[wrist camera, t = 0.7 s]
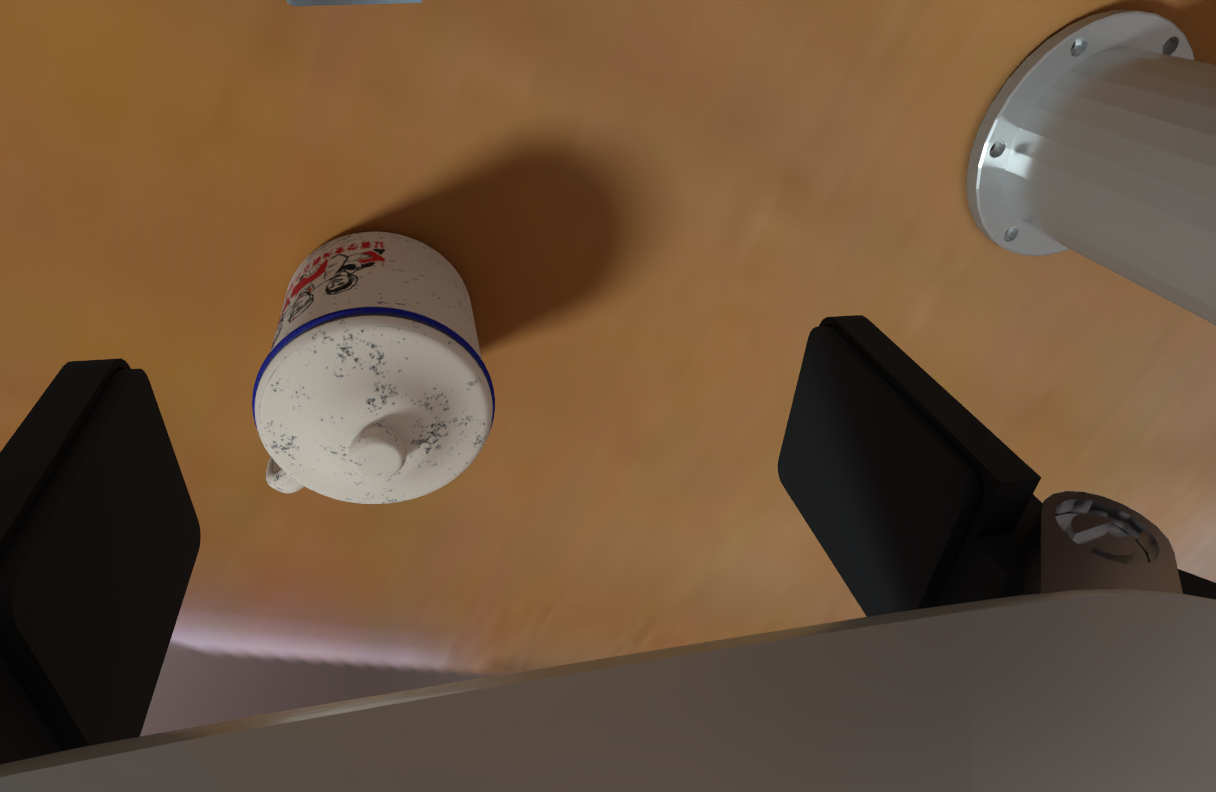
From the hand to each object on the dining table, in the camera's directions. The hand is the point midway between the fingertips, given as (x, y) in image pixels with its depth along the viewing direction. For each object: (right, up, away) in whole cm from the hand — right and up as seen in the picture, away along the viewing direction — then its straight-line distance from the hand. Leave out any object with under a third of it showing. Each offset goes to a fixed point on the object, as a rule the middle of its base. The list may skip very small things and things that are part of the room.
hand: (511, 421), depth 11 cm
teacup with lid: (-11, +4, +25) cm, 28 cm away
